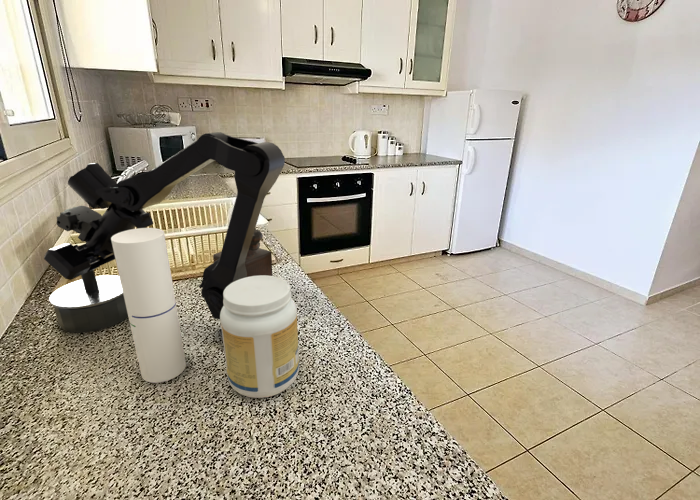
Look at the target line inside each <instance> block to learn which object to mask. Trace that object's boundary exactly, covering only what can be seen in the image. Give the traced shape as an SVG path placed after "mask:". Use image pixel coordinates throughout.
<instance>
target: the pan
mask: <svg viewBox="0 0 700 500" xmlns="http://www.w3.org/2000/svg"><path fill="white" fill-rule="evenodd" d="M53 310H54V313H55V316H56V320H57V322H58V326H59V327H60V329H62V330H63V331H65V332H68V333H75V334H81V333H92V332H96V331H97V332H98V331H100V330H105V329H107V328H110V327H113V326H115V325H117V324H119V323H121V322H123V321H124V320H126V319H127V318H129V317H128V313H127V308H126V304H125V299H124V295H122V296H120V297H118V298H116V299H114V300H112V301H109V302H106V303H103V304H100V305H96V306H92V307H86V308H79V309H62V308H57V307H54V306H53Z"/></svg>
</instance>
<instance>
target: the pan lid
mask: <svg viewBox="0 0 700 500" xmlns="http://www.w3.org/2000/svg"><path fill="white" fill-rule="evenodd" d="M80 277H81V279H79V280H75V281H72V282H69V283H67V284H65V285H62V286H61V287H59V288H57V289H56V290H54V291H52V293H51V294H50V296H49V298H48V300H49V303H50V305H51V306H52V307H53V308H54V307H57V308H62V309H79V308H86V307H92V306H96V305H100V304H103V303H106V302H109V301H112V300H114V299H116V298H118V297H120V296H122V295H123V290H122V286H121V281H120V277H119V275H116V274H108V275H107V274H105V275H97V276H96V272H95V269H94V270H92V271H90V272H87V273H84V274H82V275H80Z"/></svg>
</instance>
